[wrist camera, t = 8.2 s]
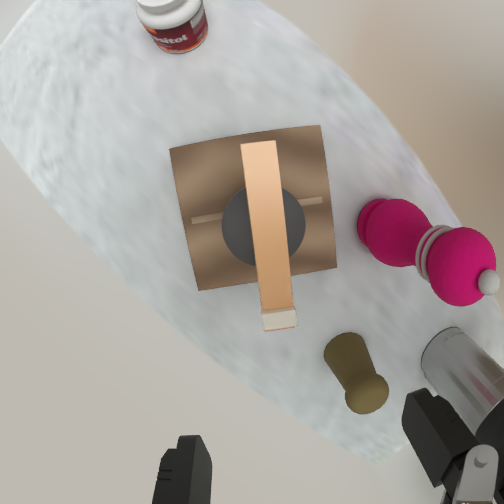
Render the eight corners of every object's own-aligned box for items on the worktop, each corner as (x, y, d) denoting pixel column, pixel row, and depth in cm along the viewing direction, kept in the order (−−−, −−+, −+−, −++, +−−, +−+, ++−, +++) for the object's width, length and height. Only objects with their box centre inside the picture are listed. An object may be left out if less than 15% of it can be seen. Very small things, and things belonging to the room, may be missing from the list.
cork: (338, 326, 37) (368, 378, 27) (372, 339, 38) (406, 388, 28) (315, 361, 39) (336, 418, 28) (349, 371, 40) (375, 424, 29)
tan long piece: (292, 144, 23) (314, 136, 16) (306, 283, 27) (328, 325, 19) (212, 154, 23) (201, 149, 16) (234, 293, 27) (232, 339, 19)
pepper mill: (397, 256, 35) (504, 333, 16) (347, 249, 35) (444, 336, 15) (409, 201, 33) (534, 242, 14) (359, 188, 33) (480, 223, 13)
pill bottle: (147, 49, 27) (112, 10, 16) (168, 8, 25) (145, -40, 15) (196, 60, 28) (178, 18, 17) (217, 18, 26) (209, -34, 16)
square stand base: (333, 264, 35) (357, 291, 27) (199, 286, 35) (189, 319, 27) (317, 126, 30) (340, 115, 23) (171, 149, 31) (150, 145, 23)
